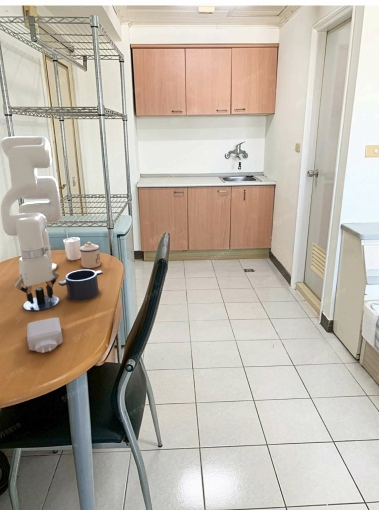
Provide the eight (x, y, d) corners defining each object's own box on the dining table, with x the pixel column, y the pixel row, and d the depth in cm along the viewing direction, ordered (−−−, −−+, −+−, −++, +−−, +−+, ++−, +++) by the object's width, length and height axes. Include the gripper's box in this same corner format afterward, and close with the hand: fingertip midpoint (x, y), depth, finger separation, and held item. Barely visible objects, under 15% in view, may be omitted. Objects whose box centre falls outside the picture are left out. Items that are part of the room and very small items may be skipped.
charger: (29, 363, 94) (29, 336, 107) (65, 354, 97) (60, 329, 110) (26, 348, 92) (26, 323, 105) (63, 340, 96) (58, 316, 109)
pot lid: (19, 305, 127) (15, 288, 125) (51, 295, 135) (49, 279, 133) (30, 316, 119) (27, 299, 117) (64, 305, 127) (62, 288, 124)
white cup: (73, 261, 172) (70, 242, 168) (62, 259, 176) (60, 240, 172) (85, 257, 178) (83, 238, 175) (75, 254, 182) (72, 236, 179)
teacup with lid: (100, 267, 163) (98, 244, 159) (80, 269, 161) (77, 245, 157) (102, 259, 174) (99, 237, 170) (83, 261, 172) (80, 238, 169)
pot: (56, 297, 133) (53, 276, 130) (96, 284, 144) (94, 265, 141) (69, 307, 125) (66, 285, 122) (110, 293, 136) (108, 273, 133)
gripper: (53, 245, 129) (59, 289, 134) (3, 256, 118) (12, 303, 123) (61, 249, 123) (68, 295, 129) (9, 261, 112) (19, 311, 118)
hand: (40, 299), depth 126 cm, fingers open, 6 cm apart
